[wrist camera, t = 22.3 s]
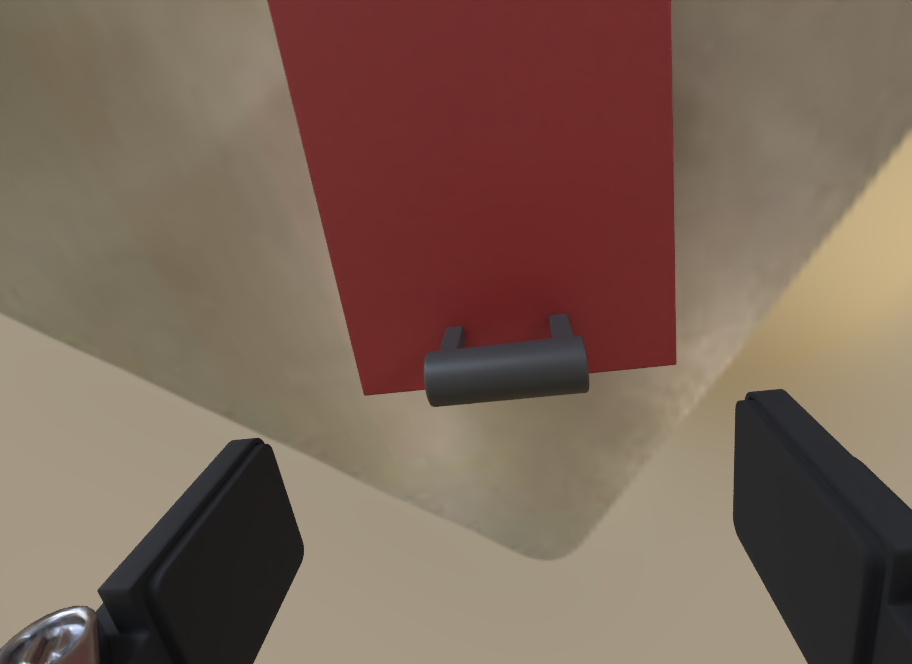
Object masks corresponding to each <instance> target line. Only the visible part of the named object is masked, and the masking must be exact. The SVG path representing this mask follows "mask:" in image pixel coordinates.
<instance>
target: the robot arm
mask: <svg viewBox="0 0 912 664" xmlns="http://www.w3.org/2000/svg"><path fill="white" fill-rule="evenodd" d="M735 411H736V412H735V452H734V454H735V455H734V457H735V458H734V499H733V521H734V526H735V530H736V533H737V536H738V537H739V540H740V542H741V543H742V545H743V547H744V549H745V551H746V552H747V554H748V556H749V558H750V560H751V561H752V563H753V565H754V567H755V569H756V571H757V572H758V574H759V576H760V577H761V579H762V581H763V583H764V585H765V587H766V589H767V590H768V592H769V594H770V596H771V598H772V600H773V601H774V603H775V605H776V606H777V609H778V610H779V612H780V614H781V616H782V618H783V619H784V621H785V623H786V625H787V627H788V628H789V630H790V632H791V634H792V636H793V638H794V639H795V641H796V643H797V645H798V647H799V648H800V650H801V652H802V654H803V656H804V657H805V659H806V661H807V663H808V664H912V510H911V509H910V508H909V507H908V506H907V505H906V504H905V503H904V502H903V501H902V500H901V499H900V498H899V497H898V496H897V495H896V494H895V493H894V492H892V490H890V488H889V487H887V486H886V485H885V484H884V483H883V482H882V481H881V480H880V479H879V478H878V477H877V476H876V475H875V474H874V473H873V472H872V471H871V470H870V469H869V468H868V467H867V466H866V465H864V464H863V463H862V462H861V461H860V460H858V459H857V458H855V457H853V456H852V455H851V454H850V453H849V452H848V451H847V450H846V449H845V448H844V447H843V446H842V445H841V444H840V443H839V442H838V441H837V440H836V439H835V438H833V436H831V435H830V434H829V433H828V432H827V431H826V430H825V429H824V428H823V427H822V426H821V425H820V424H819V423H818V422H817V421H816V420H815V419H814V418H813V417H812V416H811V415H810V414H809V413H807V411H805V409H803V408H802V407H801V406H800V405H799V404H798V403H797V402H796V401H795V400H794V399H793V398H792V397H791V396H790V395H789V394H788V393H787V392H786V391H784V390H783V389H777V390H766V391H756V392H748V393H747V394H746V397H745V400H743V401H738V402H737V404H736V409H735ZM303 555H304V545H303V541H302V538H301V535H300V532H299V529H298V526H297V523H296V520H295V517H294V513H293V511H292V507H291V504H290V502H289V498H288V495H287V492H286V489H285V486H284V483H283V480H282V477H281V474H280V471H279V468H278V465H277V461H276V459H275V455H274V452H273V450H272V447H271V446H270V445H269V444H264V442H263V441H262V440H261V439H260V438H252V439H242V440H233V441H231V442H229V443H228V444H227V445H226V446H225V448H224V449H223V450H222V451H221V452H220V453H219V454H218V455H217V457H216V458H215V459H214V460H213V461H212V462H211V463H210V464H209V466H208V467H207V468H206V469H205V470H204V471H203V472H202V473H201V475H200V476H199V477H198V478H197V479H196V480H195V481H194V482H193V483H192V485H191V486H190V487H189V488H188V489H187V490H186V491H185V492H184V494H183V495H182V496H181V497H180V498H179V499H178V500H177V501H176V503H175V504H174V505H173V506H172V507H171V508H170V509H169V511H168V512H167V513H166V514H165V515H164V516H163V517H162V518H161V519H160V520H159V522H158V523H157V524H156V525H155V526H154V527H153V529H152V530H151V531H150V532H149V533H148V534H147V535H146V536H145V537H144V539H143V540H142V541H141V542H140V543H139V544H138V545H137V546H136V547H135V548H134V550H133V551H132V552H131V553H130V554H129V555H128V556H127V558H126V559H125V560H124V561H123V562H122V563H121V564H120V565H119V566H118V568H117V569H116V570H115V571H114V572H113V573H112V574H111V576H110V577H109V578H108V579H107V580H106V581H105V582H104V583H103V584H102V586H101V587H100V588H99V589H98V593H99V595H100V597H101V599H102V601H103V604H102V605H101V606H100V607H99V609H98V610H97V611H96V612H95V611H94V610H93V609H91V608H89V607H87V606H72V607H68V608H63V609H60V610H58V611H55V612H53V613H50V614H48V615H46V616H44V617H42V618H40V619H38V620H37V621H35V622H33V623H31V624H30V625H28V626H27V627H26V628H24V629H23V630H21V631H20V632H19V633H17V634H16V635H15V636H13V637H12V638H11V639H10V640H9V641H8V642H7V643H6V644H5V645H4V646H3V647H2V648H1V649H0V664H253V663H254V661H255V659H256V656H257V654H258V652H259V650H260V648H261V646H262V644H263V642H264V640H265V638H266V636H267V634H268V631H269V629H270V627H271V625H272V623H273V621H274V619H275V617H276V615H277V613H278V611H279V609H280V607H281V604H282V602H283V600H284V598H285V596H286V594H287V592H288V590H289V588H290V586H291V584H292V581H293V579H294V577H295V575H296V573H297V571H298V569H299V567H300V565H301V563H302V560H303Z"/></svg>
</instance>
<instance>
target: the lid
mask: <svg viewBox="0 0 912 664" xmlns="http://www.w3.org/2000/svg"><path fill="white" fill-rule="evenodd" d="M267 1H268V5H269V9H270V13H271V17H272V22H273V26H274V30H275V34H276V38H277V42H278V46H279V50H280V54H281V58H282V62H283V66H284V70H285V75H286V79H287V83H288V87H289V91H290V95H291V99H292V103H293V107H294V111H295V115H296V119H297V124H298V128H299V132H300V136H301V140H302V144H303V148H304V152H305V156H306V160H307V164H308V168H309V173H310V177H311V181H312V185H313V189H314V193H315V197H316V201H317V205H318V209H319V213H320V217H321V222H322V226H323V230H324V234H325V238H326V242H327V246H328V250H329V254H330V258H331V262H332V266H333V270H334V275H335V279H336V283H337V287H338V291H339V295H340V299H341V303H342V307H343V311H344V315H345V319H346V324H347V328H348V332H349V336H350V340H351V344H352V348H353V352H354V356H355V360H356V364H357V368H358V373H359V377H360V381H361V385H362V389H363V393H364V395H365V396H366V395H376V394H386V393H396V392H406V391H416V390H426V394H427V398H428V401H429V403H430V405H431V406H433V407H439V406H450V405H460V404H471V403H481V402H492V401H502V400H513V399H524V398H534V397H545V396H555V395H566V394H577V393H586V392H588V390H589V373H597V372H607V371H617V370H627V369H637V368H647V367H657V366H667V365H676V309H675V244H674V180H673V115H672V51H671V0H267Z"/></svg>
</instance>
